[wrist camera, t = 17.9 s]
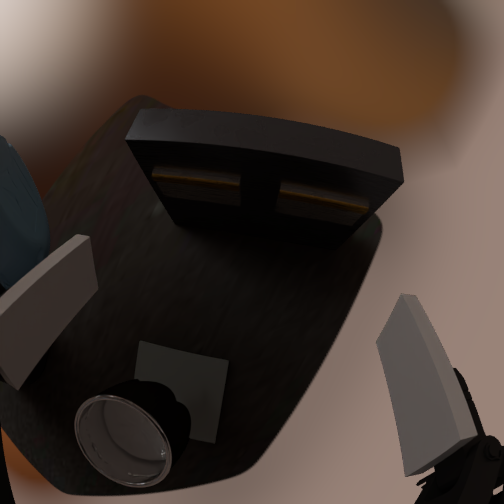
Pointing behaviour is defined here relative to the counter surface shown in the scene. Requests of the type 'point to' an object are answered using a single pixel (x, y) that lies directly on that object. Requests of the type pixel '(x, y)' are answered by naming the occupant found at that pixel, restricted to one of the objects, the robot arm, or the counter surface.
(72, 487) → the counter surface
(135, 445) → the beer glass
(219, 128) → the label panel
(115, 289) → the counter surface
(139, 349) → the rubber mat
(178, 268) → the counter surface
